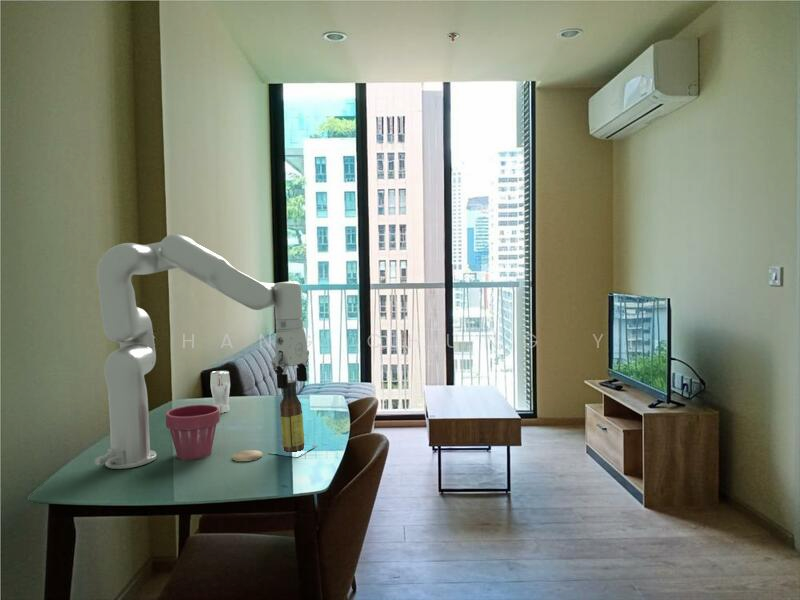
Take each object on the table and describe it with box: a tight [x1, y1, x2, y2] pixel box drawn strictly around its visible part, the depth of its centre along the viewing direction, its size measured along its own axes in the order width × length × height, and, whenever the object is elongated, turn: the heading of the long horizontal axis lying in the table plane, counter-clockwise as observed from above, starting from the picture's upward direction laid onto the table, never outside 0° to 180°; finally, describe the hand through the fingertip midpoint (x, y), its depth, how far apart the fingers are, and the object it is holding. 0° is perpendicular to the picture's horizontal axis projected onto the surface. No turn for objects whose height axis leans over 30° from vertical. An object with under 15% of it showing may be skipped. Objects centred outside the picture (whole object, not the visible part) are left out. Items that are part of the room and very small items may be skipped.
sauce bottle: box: [279, 379, 305, 452], centre depth 150 cm, size 6×6×20 cm
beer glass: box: [210, 370, 231, 414], centre depth 196 cm, size 7×7×15 cm
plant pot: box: [165, 404, 221, 461], centre depth 149 cm, size 14×14×13 cm
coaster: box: [231, 449, 263, 462], centre depth 146 cm, size 8×8×1 cm
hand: (292, 384), depth 150 cm, fingers open, 9 cm apart
